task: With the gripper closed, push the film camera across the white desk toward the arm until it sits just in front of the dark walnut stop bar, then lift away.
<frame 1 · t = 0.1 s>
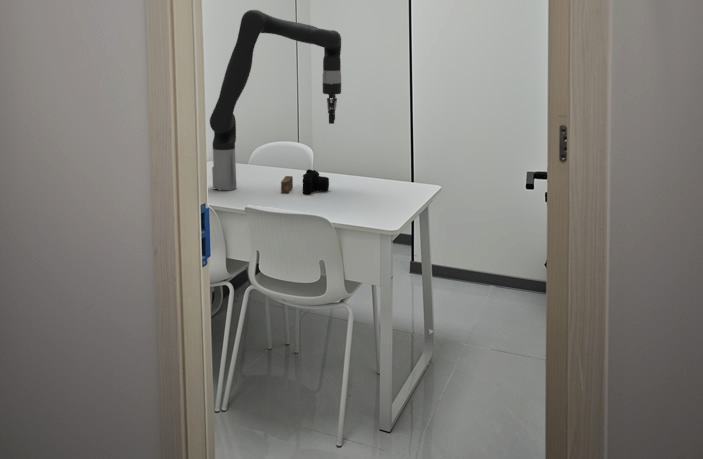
hand: (331, 122, 301), 29 cm above the table, fingers open, 8 cm apart
film camera: (316, 192, 309), on the table
stop bar: (287, 190, 310), on the table
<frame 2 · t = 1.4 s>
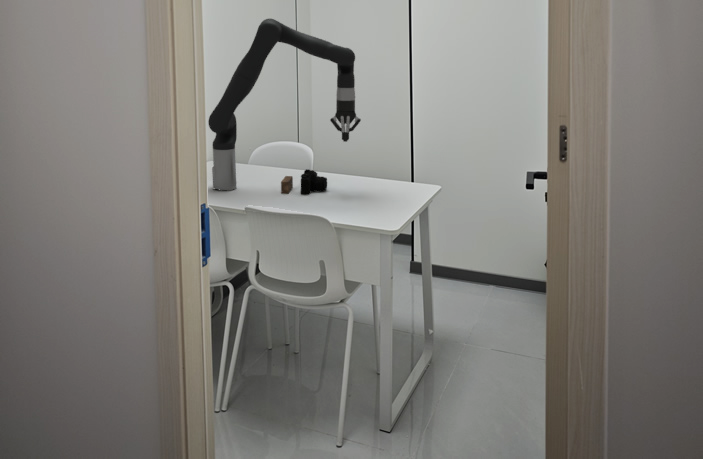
hand: (345, 141, 302), 21 cm above the table, fingers closed
nothing on the table moved.
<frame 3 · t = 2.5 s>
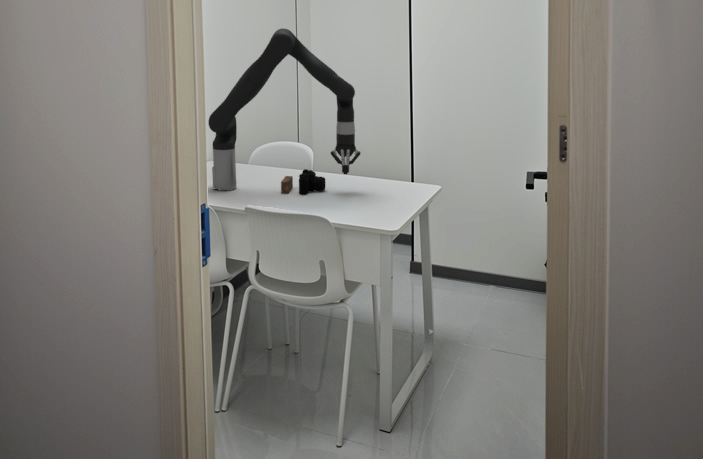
hand: (345, 173, 306), 8 cm above the table, fingers closed
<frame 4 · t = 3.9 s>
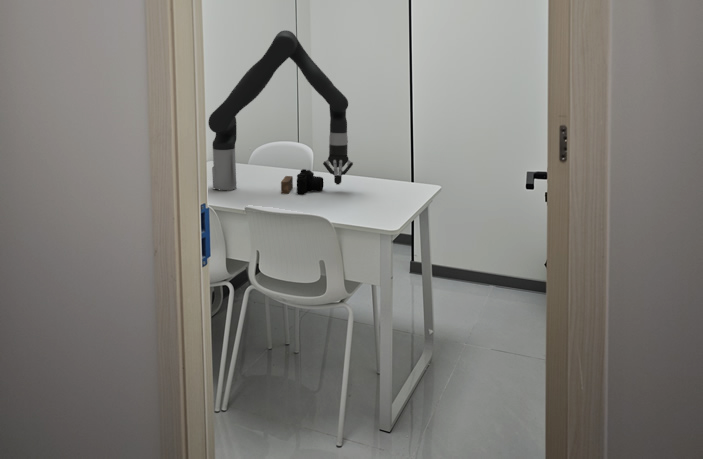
hand: (337, 184, 307), 3 cm above the table, fingers closed
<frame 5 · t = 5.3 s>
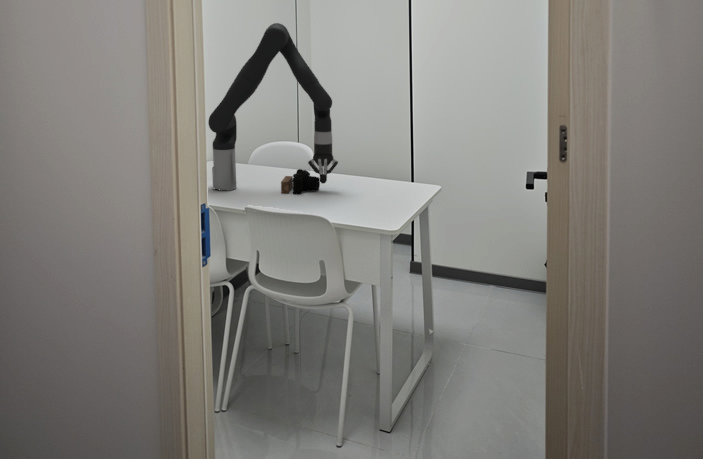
hand: (323, 183, 308), 4 cm above the table, fingers closed
film camera: (306, 191, 309), on the table
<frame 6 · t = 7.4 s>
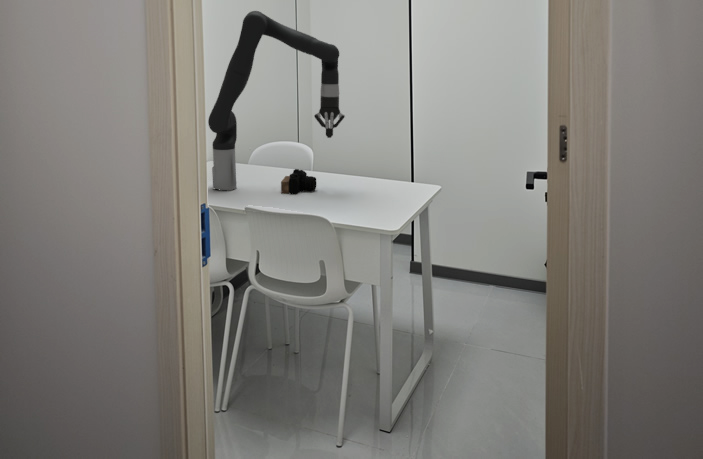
hand: (329, 137, 303), 23 cm above the table, fingers closed
film camera: (303, 191, 310), on the table
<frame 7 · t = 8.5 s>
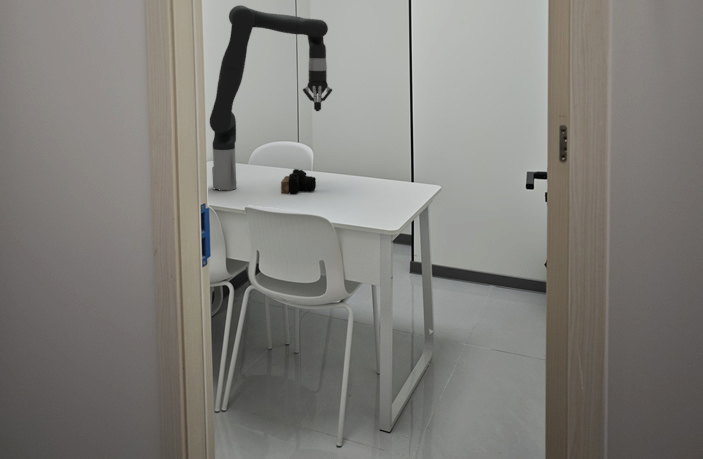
hand: (317, 110, 311), 32 cm above the table, fingers closed
nothing on the table moved.
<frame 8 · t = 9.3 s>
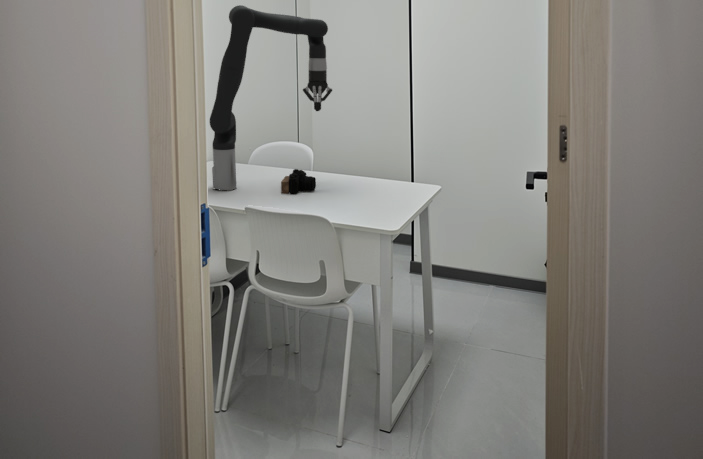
hand: (317, 110, 311), 32 cm above the table, fingers closed
nothing on the table moved.
at the end: film camera inside the target area (0.1 cm from its centre), on the table; film camera tilted 0°; film camera moved 5.9 cm from its start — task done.
